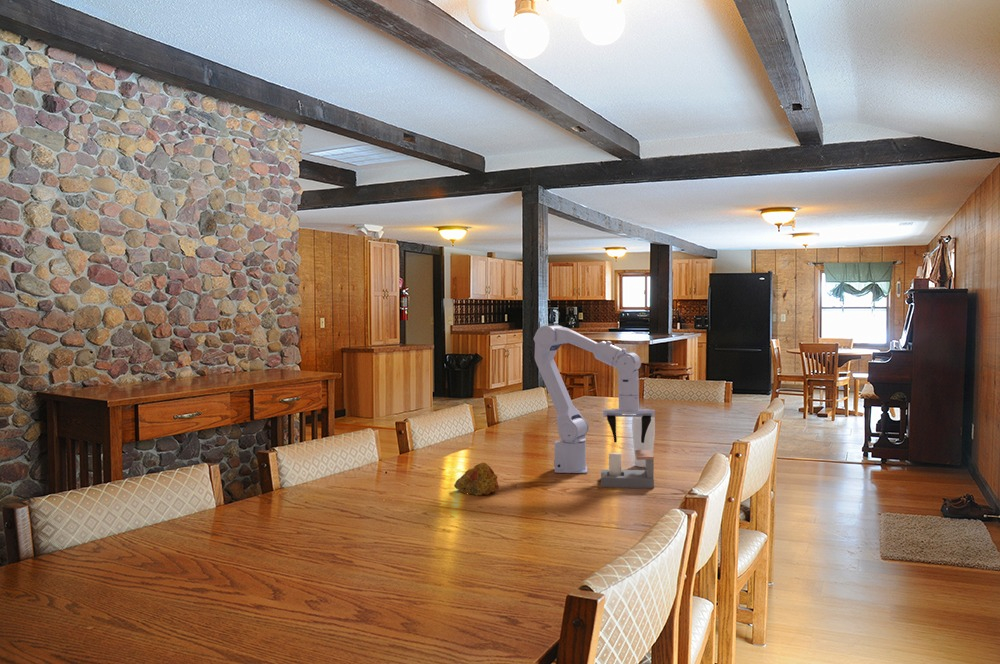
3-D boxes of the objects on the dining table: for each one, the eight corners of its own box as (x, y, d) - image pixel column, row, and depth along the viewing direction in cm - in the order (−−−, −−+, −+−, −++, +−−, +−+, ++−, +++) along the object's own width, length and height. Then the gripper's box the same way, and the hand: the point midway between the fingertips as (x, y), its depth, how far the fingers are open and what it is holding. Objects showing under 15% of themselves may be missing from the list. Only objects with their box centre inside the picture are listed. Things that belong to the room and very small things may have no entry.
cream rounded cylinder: (653, 463, 224) (653, 415, 224) (656, 468, 218) (656, 418, 217) (631, 463, 225) (631, 415, 224) (633, 468, 218) (633, 418, 218)
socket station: (601, 486, 196) (600, 456, 196) (601, 478, 206) (600, 449, 206) (653, 488, 194) (653, 457, 194) (651, 479, 204) (651, 449, 204)
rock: (465, 511, 189) (446, 480, 193) (482, 508, 196) (463, 478, 201) (494, 485, 186) (473, 454, 190) (510, 483, 193) (490, 453, 197)
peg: (620, 484, 199) (620, 455, 198) (608, 484, 199) (608, 455, 199) (621, 481, 202) (621, 453, 202) (609, 481, 203) (609, 452, 202)
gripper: (603, 396, 204) (603, 444, 205) (655, 396, 202) (655, 444, 203) (602, 393, 211) (603, 439, 212) (653, 393, 209) (653, 440, 210)
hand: (628, 442), depth 208 cm, fingers open, 7 cm apart
